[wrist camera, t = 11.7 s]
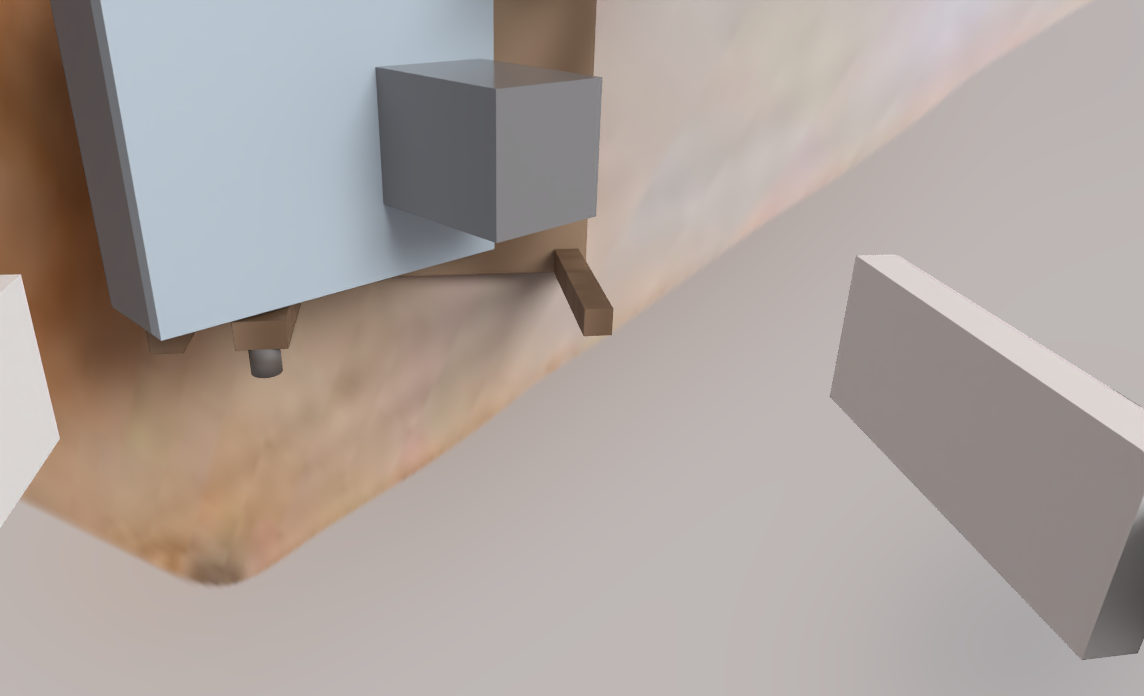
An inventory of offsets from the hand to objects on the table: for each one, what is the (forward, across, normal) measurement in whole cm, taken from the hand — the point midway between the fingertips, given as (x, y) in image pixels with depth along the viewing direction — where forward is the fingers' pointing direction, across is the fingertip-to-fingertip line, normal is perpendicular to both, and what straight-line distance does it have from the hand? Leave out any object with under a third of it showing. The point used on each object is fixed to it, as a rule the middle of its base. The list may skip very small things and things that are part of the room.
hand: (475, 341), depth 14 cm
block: (+25, 0, -1) cm, 25 cm away
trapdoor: (+26, -6, -1) cm, 27 cm away
